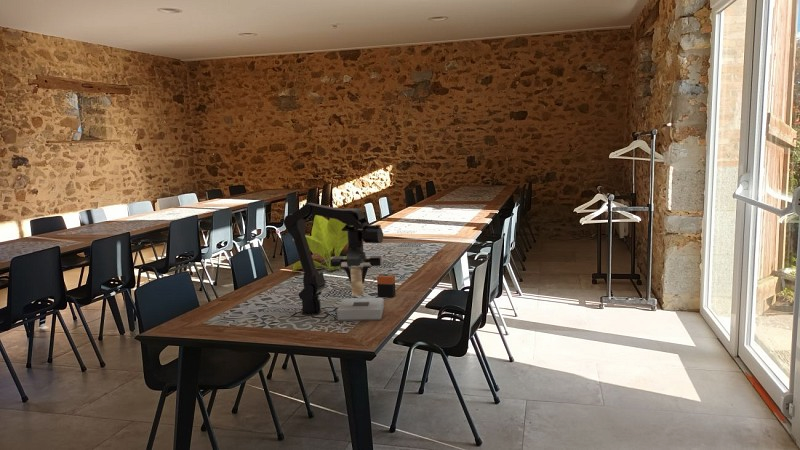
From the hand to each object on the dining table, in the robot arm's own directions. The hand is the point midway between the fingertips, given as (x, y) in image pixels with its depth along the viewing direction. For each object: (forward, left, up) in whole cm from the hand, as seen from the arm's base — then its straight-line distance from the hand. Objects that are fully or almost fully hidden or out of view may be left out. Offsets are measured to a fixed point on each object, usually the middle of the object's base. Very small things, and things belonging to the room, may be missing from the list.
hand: (357, 283), depth 233 cm
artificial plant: (-24, +86, -13) cm, 91 cm away
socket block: (+1, +2, -12) cm, 13 cm away
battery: (+9, +28, -13) cm, 32 cm away
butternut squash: (-23, +122, -13) cm, 125 cm away
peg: (0, 0, -4) cm, 4 cm away
